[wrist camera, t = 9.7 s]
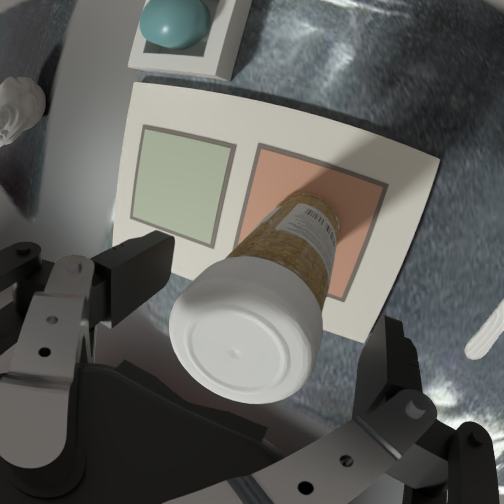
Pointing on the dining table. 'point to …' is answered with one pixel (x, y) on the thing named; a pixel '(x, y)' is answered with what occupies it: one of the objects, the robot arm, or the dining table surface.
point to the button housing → (199, 45)
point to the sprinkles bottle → (261, 306)
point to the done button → (174, 22)
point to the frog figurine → (19, 107)
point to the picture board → (269, 188)
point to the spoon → (486, 334)
